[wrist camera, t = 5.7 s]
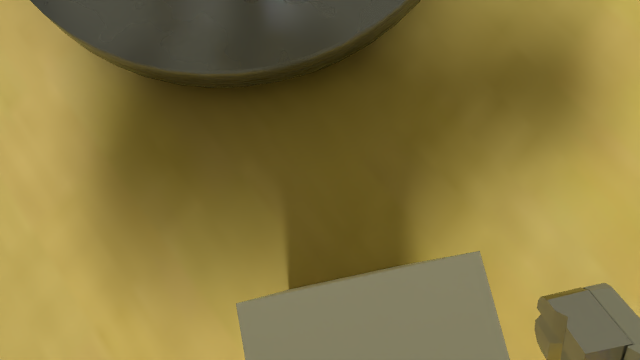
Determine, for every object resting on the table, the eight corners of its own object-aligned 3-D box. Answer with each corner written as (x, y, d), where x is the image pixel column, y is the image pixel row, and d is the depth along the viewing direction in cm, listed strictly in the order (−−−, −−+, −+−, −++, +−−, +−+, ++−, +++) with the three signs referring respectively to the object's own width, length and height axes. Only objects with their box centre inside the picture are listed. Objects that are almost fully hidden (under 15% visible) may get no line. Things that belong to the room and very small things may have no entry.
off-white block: (312, 412, 17) (283, 586, 8) (288, 289, 18) (235, 303, 9) (432, 386, 17) (555, 525, 8) (402, 265, 18) (479, 250, 9)
